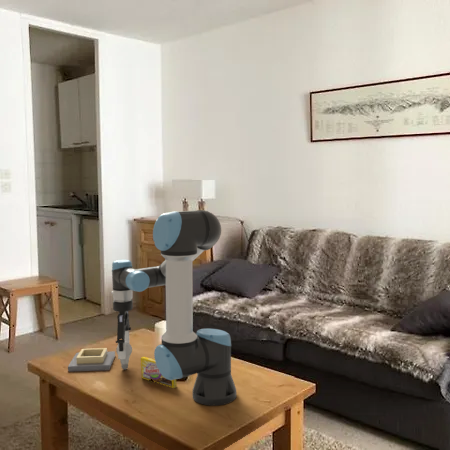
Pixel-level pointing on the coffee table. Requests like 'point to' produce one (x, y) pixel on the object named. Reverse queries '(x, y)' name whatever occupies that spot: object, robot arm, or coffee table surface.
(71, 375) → the coffee table surface
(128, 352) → the lightbulb
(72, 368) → the lamp base
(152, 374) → the candy box
